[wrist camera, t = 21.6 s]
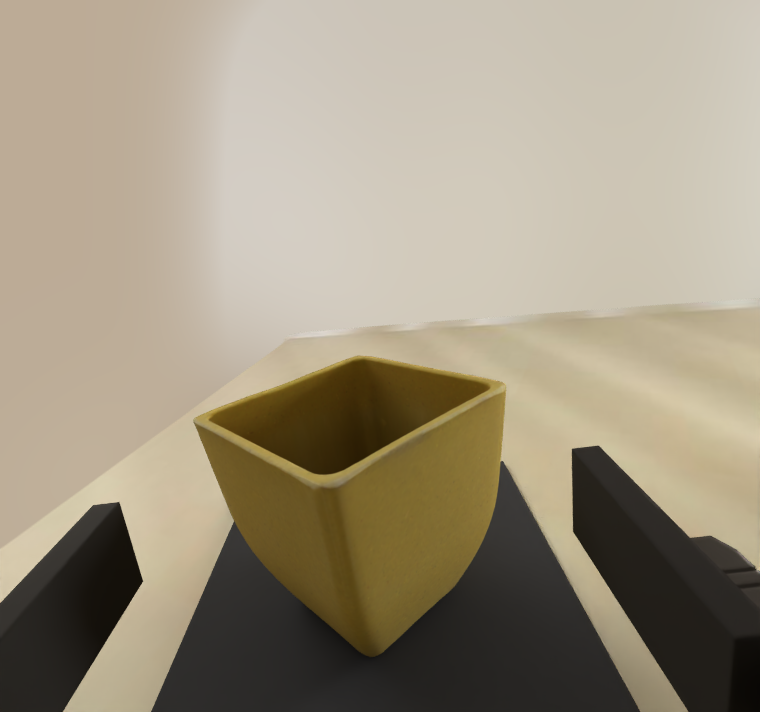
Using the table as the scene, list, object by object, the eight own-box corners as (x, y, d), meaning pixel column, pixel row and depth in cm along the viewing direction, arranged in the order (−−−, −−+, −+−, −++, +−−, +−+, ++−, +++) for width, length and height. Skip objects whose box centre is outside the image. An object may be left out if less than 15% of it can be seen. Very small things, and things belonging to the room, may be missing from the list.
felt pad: (726, 875, 12) (726, 869, 12) (51, 950, 12) (49, 944, 12) (503, 463, 31) (502, 461, 31) (247, 494, 31) (246, 491, 31)
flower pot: (366, 743, 15) (321, 485, 13) (234, 605, 22) (187, 414, 19) (522, 583, 21) (512, 381, 18) (380, 510, 27) (359, 353, 25)
